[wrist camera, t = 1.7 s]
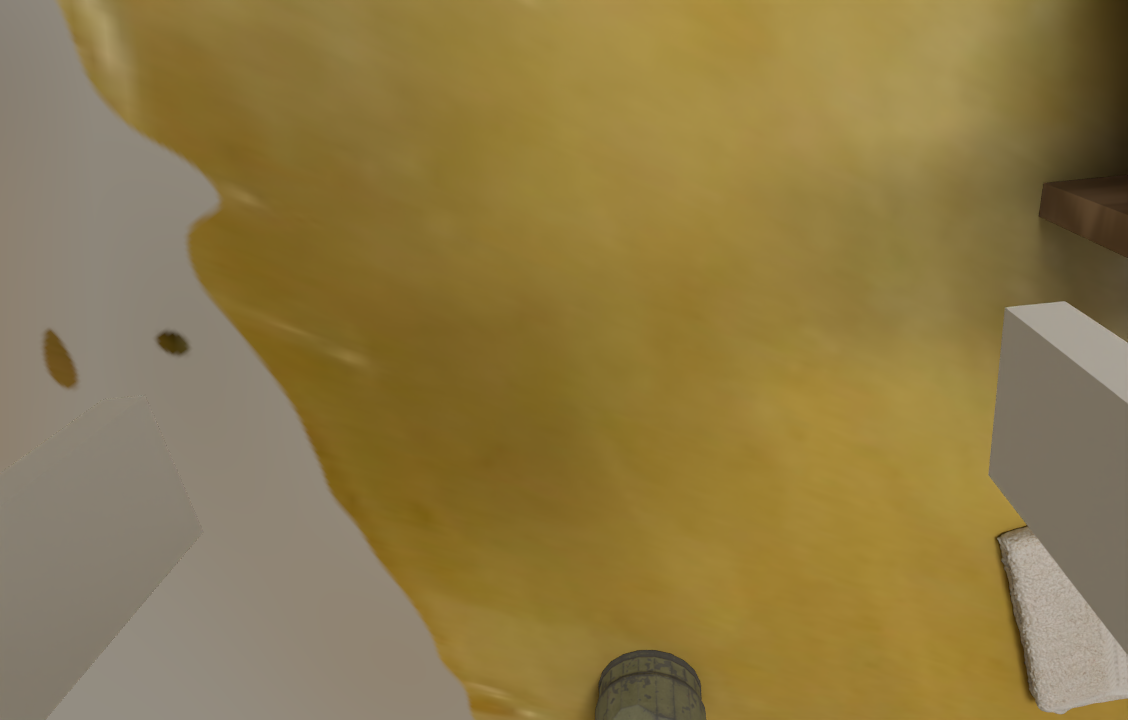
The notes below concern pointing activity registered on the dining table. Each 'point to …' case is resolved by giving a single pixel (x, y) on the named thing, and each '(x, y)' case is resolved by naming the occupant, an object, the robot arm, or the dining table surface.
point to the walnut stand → (1090, 209)
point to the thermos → (649, 689)
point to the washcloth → (1059, 631)
